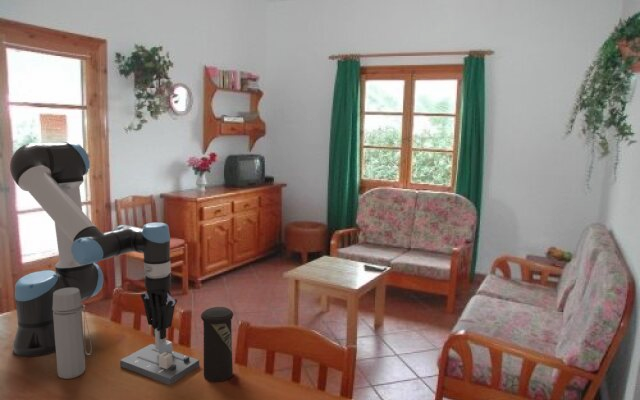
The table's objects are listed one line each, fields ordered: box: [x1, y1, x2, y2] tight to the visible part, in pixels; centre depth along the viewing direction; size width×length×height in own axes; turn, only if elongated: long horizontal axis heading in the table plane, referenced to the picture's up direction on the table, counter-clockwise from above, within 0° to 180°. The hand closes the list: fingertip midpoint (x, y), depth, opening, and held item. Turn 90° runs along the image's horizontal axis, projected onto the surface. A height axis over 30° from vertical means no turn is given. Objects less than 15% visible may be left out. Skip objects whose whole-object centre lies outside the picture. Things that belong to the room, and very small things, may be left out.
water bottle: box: [52, 287, 93, 380], centre depth 136 cm, size 9×8×25 cm
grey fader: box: [159, 339, 173, 354], centre depth 146 cm, size 3×2×4 cm
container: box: [200, 306, 234, 383], centre depth 138 cm, size 9×9×20 cm
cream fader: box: [159, 352, 173, 369], centre depth 139 cm, size 3×2×4 cm
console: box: [119, 343, 200, 386], centre depth 143 cm, size 20×12×3 cm, turn 62°
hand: (160, 347), depth 147 cm, fingers closed
